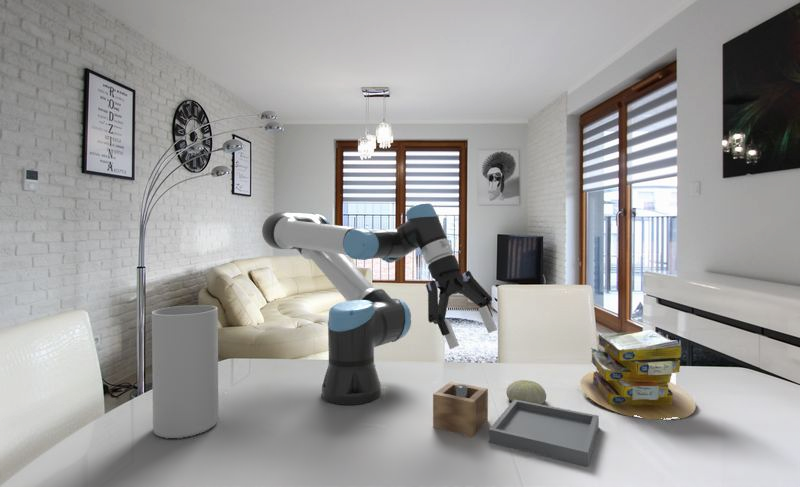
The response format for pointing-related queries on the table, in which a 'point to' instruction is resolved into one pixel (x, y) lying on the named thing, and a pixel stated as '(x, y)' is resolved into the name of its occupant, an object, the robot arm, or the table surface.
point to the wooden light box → (460, 409)
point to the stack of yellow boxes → (638, 376)
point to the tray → (546, 431)
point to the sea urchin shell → (526, 392)
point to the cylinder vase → (184, 370)
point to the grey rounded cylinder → (461, 391)
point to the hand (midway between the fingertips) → (474, 339)
